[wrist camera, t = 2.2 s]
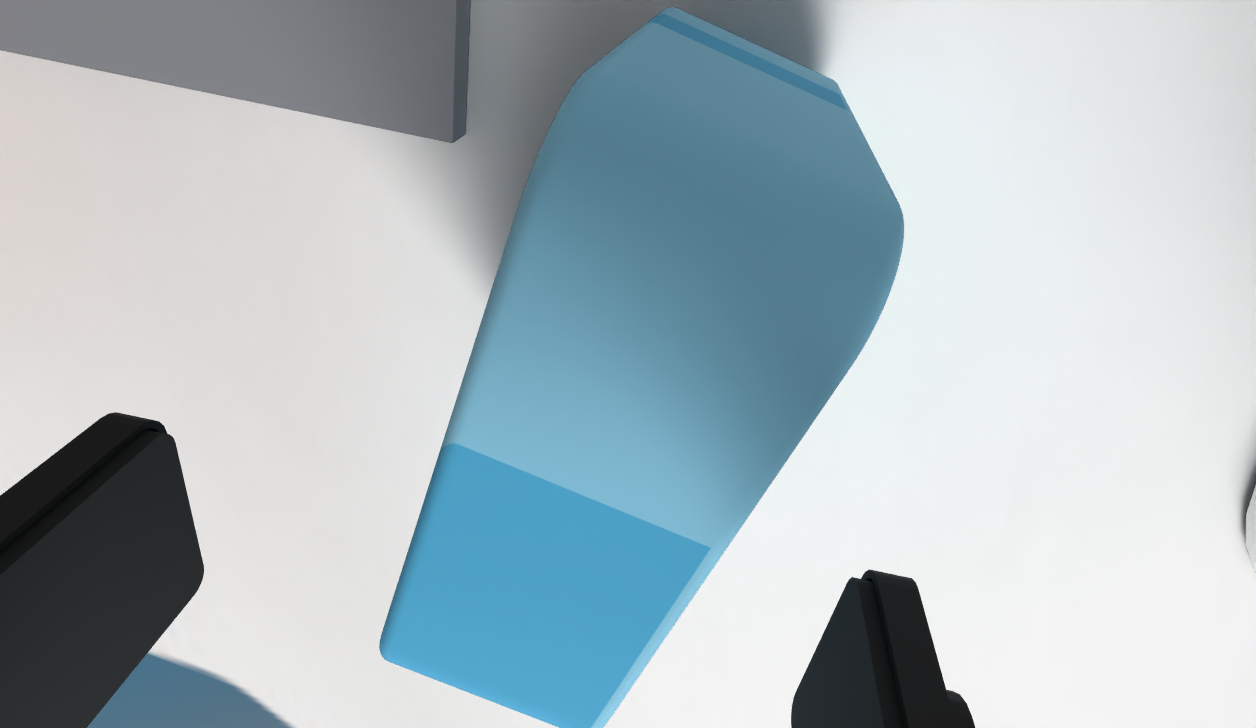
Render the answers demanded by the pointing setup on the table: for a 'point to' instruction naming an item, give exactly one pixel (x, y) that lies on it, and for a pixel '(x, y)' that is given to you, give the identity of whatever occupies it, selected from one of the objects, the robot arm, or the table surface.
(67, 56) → the charging mat
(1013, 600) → the table surface
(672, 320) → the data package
